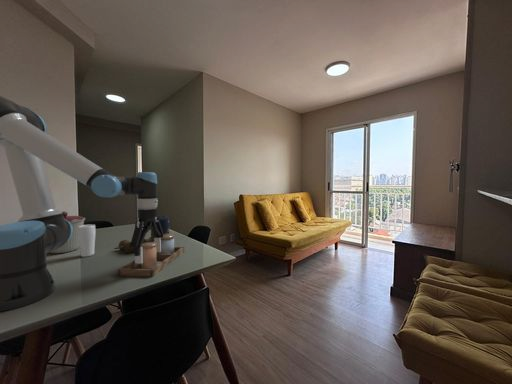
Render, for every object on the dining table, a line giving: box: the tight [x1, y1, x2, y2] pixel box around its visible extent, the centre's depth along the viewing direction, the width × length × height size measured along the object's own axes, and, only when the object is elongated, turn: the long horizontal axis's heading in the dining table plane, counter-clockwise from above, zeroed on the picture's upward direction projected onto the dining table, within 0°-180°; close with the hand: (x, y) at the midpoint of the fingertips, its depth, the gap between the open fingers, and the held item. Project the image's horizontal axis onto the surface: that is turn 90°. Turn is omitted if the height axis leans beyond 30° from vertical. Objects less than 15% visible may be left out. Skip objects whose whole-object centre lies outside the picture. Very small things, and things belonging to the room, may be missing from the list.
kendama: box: [113, 236, 151, 254], centre depth 112 cm, size 6×10×20 cm
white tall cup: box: [78, 224, 97, 258], centre depth 102 cm, size 7×7×15 cm
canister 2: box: [150, 215, 170, 242], centre depth 116 cm, size 10×10×18 cm
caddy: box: [118, 246, 185, 278], centre depth 94 cm, size 29×14×2 cm, turn 176°
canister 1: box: [48, 211, 86, 254], centre depth 109 cm, size 18×18×21 cm
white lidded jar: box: [157, 233, 176, 254], centre depth 102 cm, size 9×9×10 cm
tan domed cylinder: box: [140, 242, 158, 269], centre depth 88 cm, size 6×6×10 cm
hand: (149, 257), depth 88 cm, fingers open, 13 cm apart
